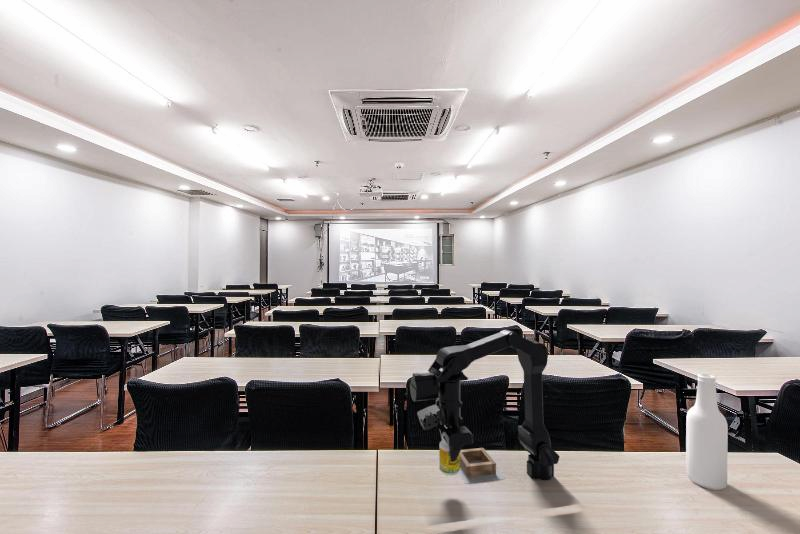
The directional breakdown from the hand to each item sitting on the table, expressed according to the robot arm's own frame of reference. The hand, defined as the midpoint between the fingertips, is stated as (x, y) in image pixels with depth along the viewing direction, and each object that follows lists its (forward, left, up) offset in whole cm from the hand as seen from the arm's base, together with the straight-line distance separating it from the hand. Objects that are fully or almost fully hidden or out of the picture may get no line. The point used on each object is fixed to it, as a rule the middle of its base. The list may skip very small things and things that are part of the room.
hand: (449, 455), depth 94 cm
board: (-11, -9, -11) cm, 18 cm away
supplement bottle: (0, 0, -4) cm, 4 cm away
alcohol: (-73, +8, -11) cm, 74 cm away
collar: (-11, -9, -10) cm, 17 cm away
